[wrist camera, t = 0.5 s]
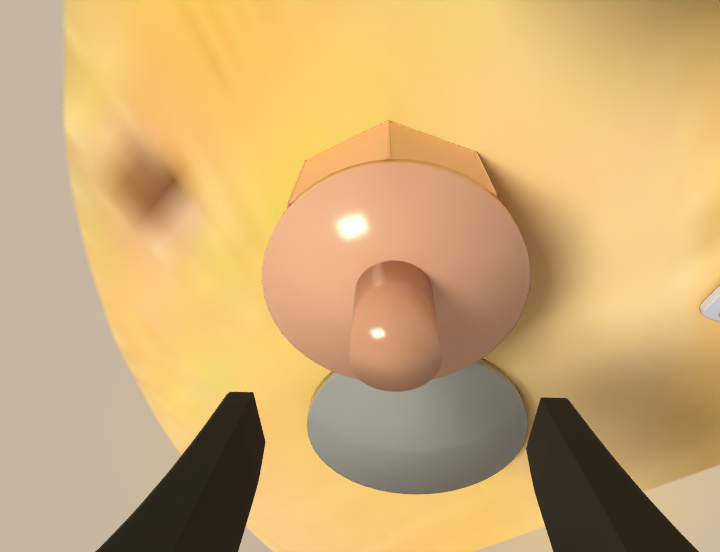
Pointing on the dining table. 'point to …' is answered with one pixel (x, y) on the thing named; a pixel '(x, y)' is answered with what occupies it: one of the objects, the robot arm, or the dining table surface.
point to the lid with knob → (395, 260)
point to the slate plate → (419, 430)
